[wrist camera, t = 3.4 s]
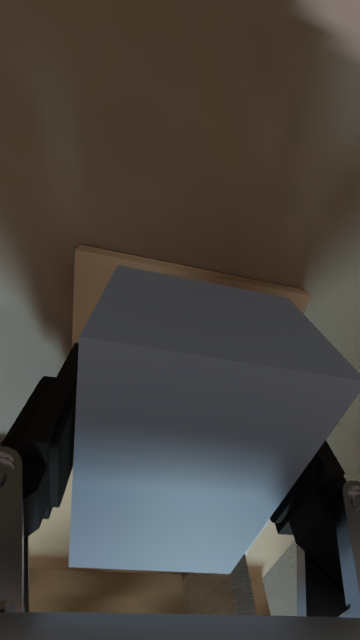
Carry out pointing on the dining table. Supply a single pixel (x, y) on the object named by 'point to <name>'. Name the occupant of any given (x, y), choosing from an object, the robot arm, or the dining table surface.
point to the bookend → (220, 591)
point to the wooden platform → (54, 533)
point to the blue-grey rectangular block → (193, 420)
